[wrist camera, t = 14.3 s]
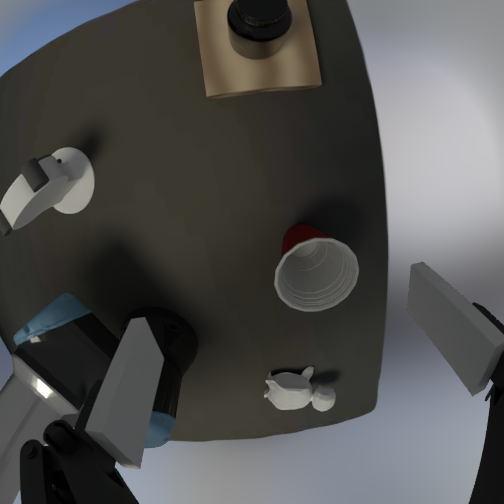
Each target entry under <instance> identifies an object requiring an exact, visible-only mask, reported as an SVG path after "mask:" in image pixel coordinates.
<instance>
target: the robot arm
mask: <svg viewBox="0 0 504 504" xmlns="http://www.w3.org/2000/svg"><path fill="white" fill-rule="evenodd" d="M406 310H407V312H408V313H409V314H410V315H411V316H412V318H413V319H414V320H415V321H416V322H417V324H418V325H419V326H420V327H421V329H422V330H423V331H424V332H425V333H426V335H427V336H428V337H429V338H430V340H431V341H432V342H433V344H434V345H435V346H436V347H437V349H438V350H439V351H440V352H441V354H442V355H443V356H444V358H445V359H446V360H447V362H448V363H449V364H450V365H451V367H452V368H453V370H454V371H455V372H456V374H457V375H458V377H459V378H460V379H461V381H462V382H463V384H464V385H465V386H466V387H467V389H468V391H469V392H470V393H471V395H472V396H474V395H475V394H477V393H479V392H480V391H482V390H484V389H485V388H486V386H487V384H488V382H489V380H490V379H491V381H492V382H493V383H494V384H493V385H492V387H491V389H490V391H489V393H488V394H487V396H486V399H485V401H487V400H488V398H489V397H490V395H491V398H490V409H489V416H488V424H487V431H486V437H485V443H484V448H483V452H482V457H481V462H480V466H479V470H478V474H477V478H476V481H475V485H474V488H473V491H472V495H471V498H470V501H469V504H504V325H503V324H502V323H501V322H500V321H499V320H496V318H495V317H494V316H493V315H491V313H490V312H489V311H488V310H487V309H486V308H485V307H483V306H481V305H479V304H477V303H475V302H474V303H472V304H471V303H470V302H469V301H468V300H467V299H466V298H465V297H464V296H463V295H461V294H460V293H459V292H458V291H457V290H456V289H454V288H453V287H452V286H451V285H450V284H449V283H447V281H445V280H444V279H443V278H441V276H439V275H438V274H437V273H436V272H435V271H433V270H432V269H431V268H430V267H429V266H427V265H426V264H425V263H424V262H420V263H417V264H413V265H411V271H410V283H409V292H408V302H407V309H406ZM14 340H15V344H16V345H19V347H18V348H17V349H16V351H15V352H14V353H13V355H12V361H13V368H14V369H13V374H12V375H11V376H10V378H9V379H8V381H7V382H6V384H5V385H4V387H3V388H2V390H1V391H0V504H13V502H14V500H15V498H16V496H17V494H18V492H19V490H20V491H21V504H139V503H138V501H137V500H136V498H135V497H134V495H133V494H132V492H131V491H130V489H129V488H128V486H127V485H126V483H125V482H124V480H123V478H122V477H121V475H120V473H119V472H118V471H117V469H116V468H115V463H116V461H117V462H118V463H119V464H120V465H122V466H123V467H126V468H136V469H140V467H141V462H142V456H143V451H144V448H155V447H159V446H162V445H164V444H165V443H167V442H168V441H169V439H170V437H171V434H172V430H173V426H174V424H175V421H176V420H175V418H176V411H177V405H178V399H179V393H180V387H181V381H182V377H183V375H184V374H185V372H186V371H187V370H188V368H189V367H190V365H191V364H192V363H193V361H194V359H195V356H196V352H197V346H198V343H197V337H196V334H195V332H194V331H193V329H192V328H191V326H190V325H189V324H188V323H187V322H186V321H185V320H184V319H182V318H181V317H179V316H178V315H176V314H174V313H172V312H170V311H167V310H164V309H159V308H143V309H139V310H137V311H135V312H133V313H132V314H130V315H129V316H128V318H127V319H126V321H125V323H124V325H123V327H122V330H121V335H120V341H119V340H118V339H117V338H116V337H115V336H114V335H113V334H112V333H111V332H110V331H109V330H108V329H107V328H106V327H105V326H104V325H103V324H102V323H101V322H100V321H99V319H98V318H97V317H96V316H95V315H94V314H93V313H92V310H90V309H88V308H87V307H86V306H85V305H84V304H83V303H82V302H81V301H80V300H79V299H78V298H77V297H76V296H75V295H73V294H70V293H64V294H62V295H60V296H59V297H57V298H56V299H55V300H54V301H52V302H51V303H50V304H49V305H47V306H46V307H45V308H44V309H43V310H41V311H40V312H39V313H38V314H37V315H36V316H35V317H33V318H32V319H31V320H30V321H29V322H28V323H27V324H26V325H25V326H24V327H22V328H21V329H20V330H19V331H18V332H17V333H16V334H15V335H14ZM82 405H84V406H83V408H82V410H81V413H80V415H79V418H78V420H77V423H76V425H75V428H74V429H73V428H72V427H71V426H70V425H69V424H68V422H66V421H64V420H60V418H61V417H62V416H63V415H65V414H75V413H78V411H79V410H80V408H81V406H82ZM45 443H47V444H48V445H49V446H44V445H45ZM52 485H53V486H52Z"/></svg>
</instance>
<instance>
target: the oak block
mask: <svg viewBox="0 0 504 504" xmlns="http://www.w3.org/2000/svg"><path fill="white" fill-rule="evenodd" d="M233 1H234V0H204V1H198V2H194V7H195V15H196V22H197V30H198V38H199V45H200V52H201V60H202V67H203V74H204V81H205V88H206V94H207V97H208V98H209V99H210V100H213V99H219V98H225V97H232V96H239V95H246V94H254V93H264V92H274V91H286V90H302V89H315V88H317V87H319V86H321V85H322V82H321V75H320V69H319V63H318V57H317V51H316V46H315V40H314V35H313V30H312V25H311V20H310V16H309V11H308V7H307V2H306V0H287V1H288V6H289V7H290V9H291V12H292V24H291V26H290V29H289V31H288V33H287V35H286V37H285V39H284V41H283V43H282V45H281V47H280V48H279V50H278V51H277V52H276V53H275V54H274V55H272V56H270V57H268V58H266V59H261V60H252V59H247V58H244V57H242V56H240V55H239V54H238V53H236V52H235V51H234V49H233V48H232V46H231V44H230V41H229V33H228V24H227V11H228V8H229V6H230V5H231V3H232V2H233Z"/></svg>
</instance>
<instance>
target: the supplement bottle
mask: <svg viewBox="0 0 504 504" xmlns="http://www.w3.org/2000/svg"><path fill="white" fill-rule="evenodd" d="M227 24H228V33H229V41H230V44H231V46H232V48H233V49H234V51H235V52H236V53H238V54H239V55H240V56H242V57H244V58H247V59H252V60H261V59H266V58H268V57H270V56H272V55H274V54H275V53H276V52H277V51H278V50H279V48H280V47H281V45H282V43H283V41H284V39H285V37H286V35H287V33H288V31H289V29H290V26H291V24H292V12H291V9H290V7H289V6H288V1H287V0H234V1H233V2H232V3H231V5H230V6H229V8H228V11H227Z"/></svg>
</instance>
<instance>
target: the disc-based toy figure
mask: <svg viewBox="0 0 504 504" xmlns="http://www.w3.org/2000/svg"><path fill="white" fill-rule="evenodd" d="M20 171H21V173H22V174H21V175H20V176H19V177H18V178H17V179H16V180H15V181H14V183H13V184H12V185H11V187H10V188H9V189H8V191H7V193H6V194H5V196H4V198H3V200H2V202H1V205H0V231H1V232H2V234H3V235H4V236H7V235H8V234H10V233H11V231H12V230H16V229H19V228H21V227H23V226H25V225H26V224H28V223H29V222H31V221H32V220H33V219H34V218H36V217H37V216H38V215H39V214H40V213H41V212H42V211H44V210H46V209H48V208H50V207H52V206H53V207H54V208H55V209H57V210H58V211H60V212H62V213H66V214H73V213H77V212H79V211H81V210H82V209H84V208H85V207H86V206H87V205H88V203H89V202H90V200H91V198H92V196H93V193H94V188H95V174H94V170H93V167H92V164H91V162H90V160H89V159H88V157H87V156H86V155H85V154H84V153H83V152H81V151H80V150H78V149H76V148H72V147H66V148H62V149H59V150H57V151H56V152H54V153H53V154H52V155H51V154H49V155H45V156H43V157H41V158H39V159H36V158H33V159H31V160H29V161H28V162H27V163H26V164H24V165H23V167H22V168H21V170H20Z"/></svg>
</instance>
